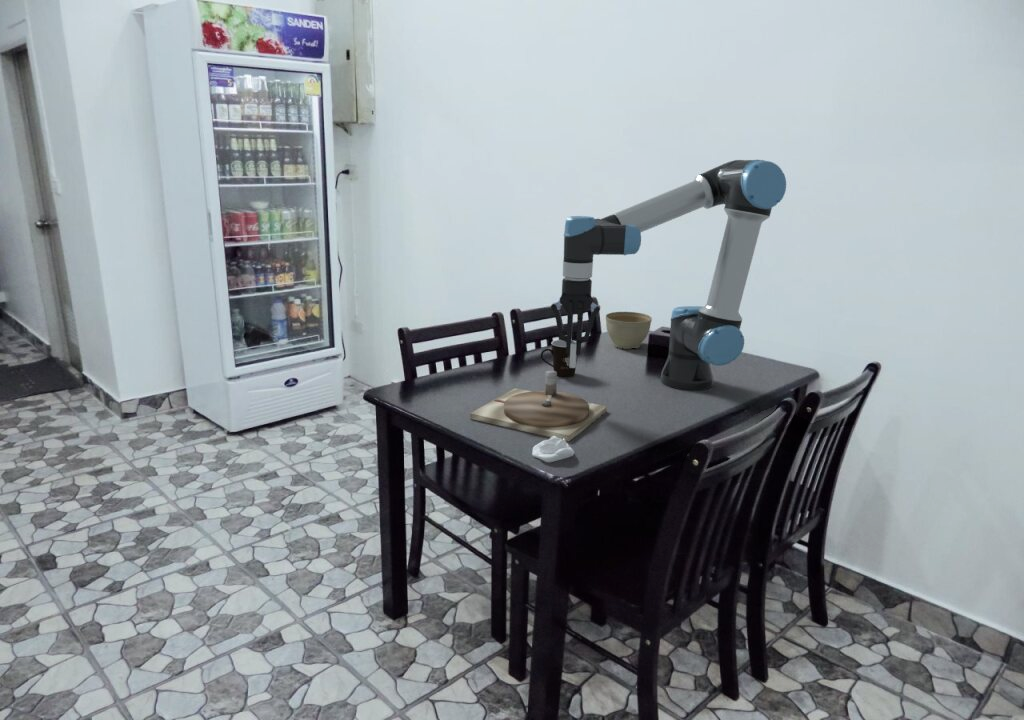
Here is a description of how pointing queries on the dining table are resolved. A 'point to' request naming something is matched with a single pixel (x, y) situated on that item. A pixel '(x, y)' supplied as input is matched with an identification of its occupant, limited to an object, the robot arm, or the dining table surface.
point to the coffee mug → (560, 359)
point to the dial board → (496, 416)
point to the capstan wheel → (546, 406)
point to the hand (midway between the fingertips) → (572, 366)
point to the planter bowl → (627, 328)
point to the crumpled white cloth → (552, 450)
